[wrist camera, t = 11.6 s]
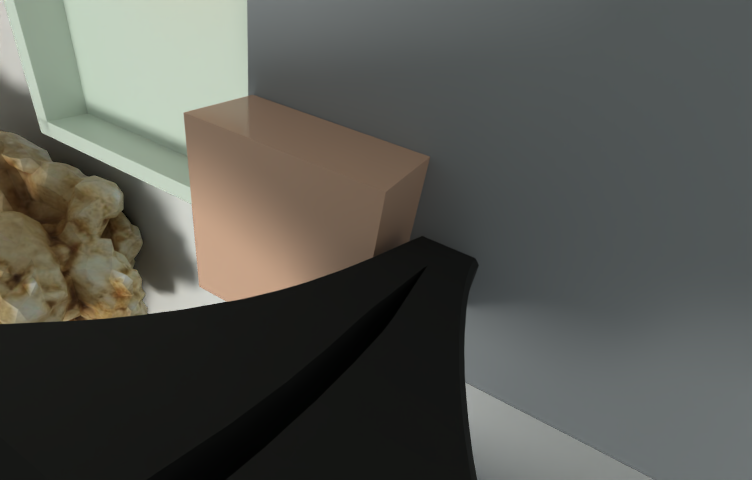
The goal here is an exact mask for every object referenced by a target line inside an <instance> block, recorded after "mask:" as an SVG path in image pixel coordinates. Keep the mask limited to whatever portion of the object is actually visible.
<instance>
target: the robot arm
mask: <svg viewBox="0 0 752 480" xmlns="http://www.w3.org/2000/svg"><path fill="white" fill-rule="evenodd" d="M478 266H479V264H478V262H477V260H476V258H474V257H471V256H469V255H467V254H464V253H462V252H459V251H457V250H455V249H452V248H450V247H448V246H445V245H443V244H440V243H438V242H436V241H433V240H431V239H428V238H426V237H424V236H421V237H418V238H416V239H414V240H411V241H409V242H406V243H404V244H402V245H400V246H397V247H395V248H393V249H391V250H388V251H386V252H384V253H382V254H379V255H377V256H375V257H372V258H370V259H367V260H365V261H363V262H360V263H358V264H355V265H353V266H350V267H348V268H345V269H343V270H340V271H337V272H334V273H332V274H329V275H326V276H323V277H320V278H317V279H314V280H311V281H309V282H306V283H302V284H299V285H296V286H292V287H289V288H285V289H281V290H278V291H274V292H270V293H265V294H261V295H257V296H253V297H249V298H244V299H240V300H234V301H229V302H223V303H217V304H212V305H206V306H201V307H195V308H189V309H184V310H177V311H169V312H161V313H153V314H145V315H136V316H126V317H116V318H105V319H92V320H78V321H57V322H35V323H14V324H0V480H477V477H476V471H475V466H474V460H473V454H472V446H471V438H470V430H469V422H468V412H467V401H466V388H465V358H464V343H465V323H466V310H467V302H468V296H469V291H470V288H471V285H472V283H473V280H474V277H475V275H476V272H477V269H478Z"/></svg>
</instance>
